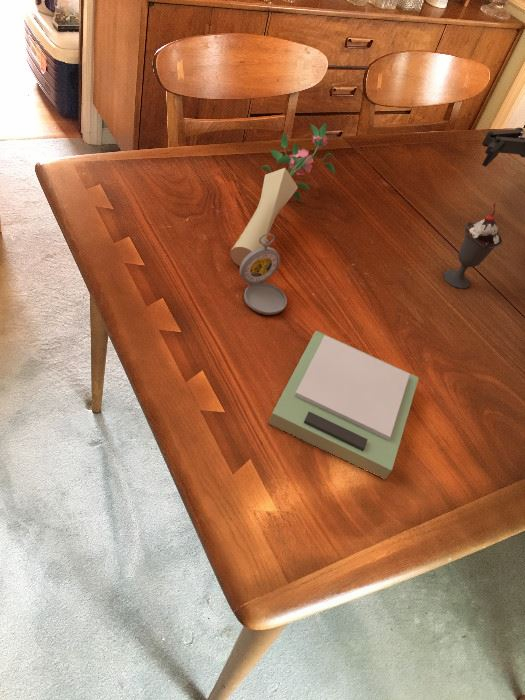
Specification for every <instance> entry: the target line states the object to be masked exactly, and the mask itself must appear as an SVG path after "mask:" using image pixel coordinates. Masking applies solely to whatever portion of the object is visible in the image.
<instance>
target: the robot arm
mask: <svg viewBox="0 0 525 700" xmlns="http://www.w3.org/2000/svg"><path fill="white" fill-rule="evenodd" d="M481 145H482V146H483V147H485V148H486V149H485V151H484V153H485V154H486V157H485V158H484V160H483V162H482V164H481V166H483V167H487V166H488V165H489V164H490V163H492V162H493V160H494V159H496V158H497V156H498V155H499V154H508V155H509V154H510V155H519V156H520V157H521V158H525V134H524V129H523V128H522V127H516V128H514V129H500V130H498V129H497V130H488V131H487V133H486V135H485V137H484V139H483V141H482V142H481Z"/></svg>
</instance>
